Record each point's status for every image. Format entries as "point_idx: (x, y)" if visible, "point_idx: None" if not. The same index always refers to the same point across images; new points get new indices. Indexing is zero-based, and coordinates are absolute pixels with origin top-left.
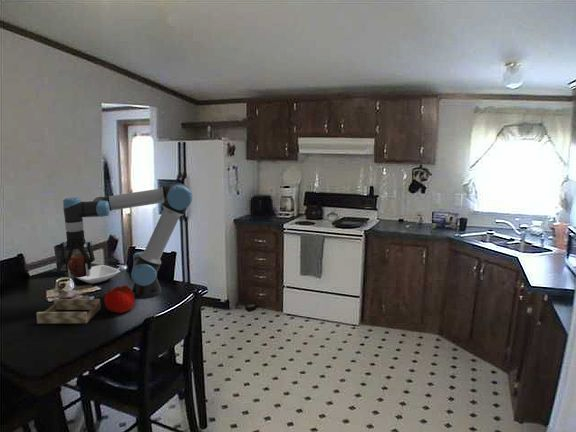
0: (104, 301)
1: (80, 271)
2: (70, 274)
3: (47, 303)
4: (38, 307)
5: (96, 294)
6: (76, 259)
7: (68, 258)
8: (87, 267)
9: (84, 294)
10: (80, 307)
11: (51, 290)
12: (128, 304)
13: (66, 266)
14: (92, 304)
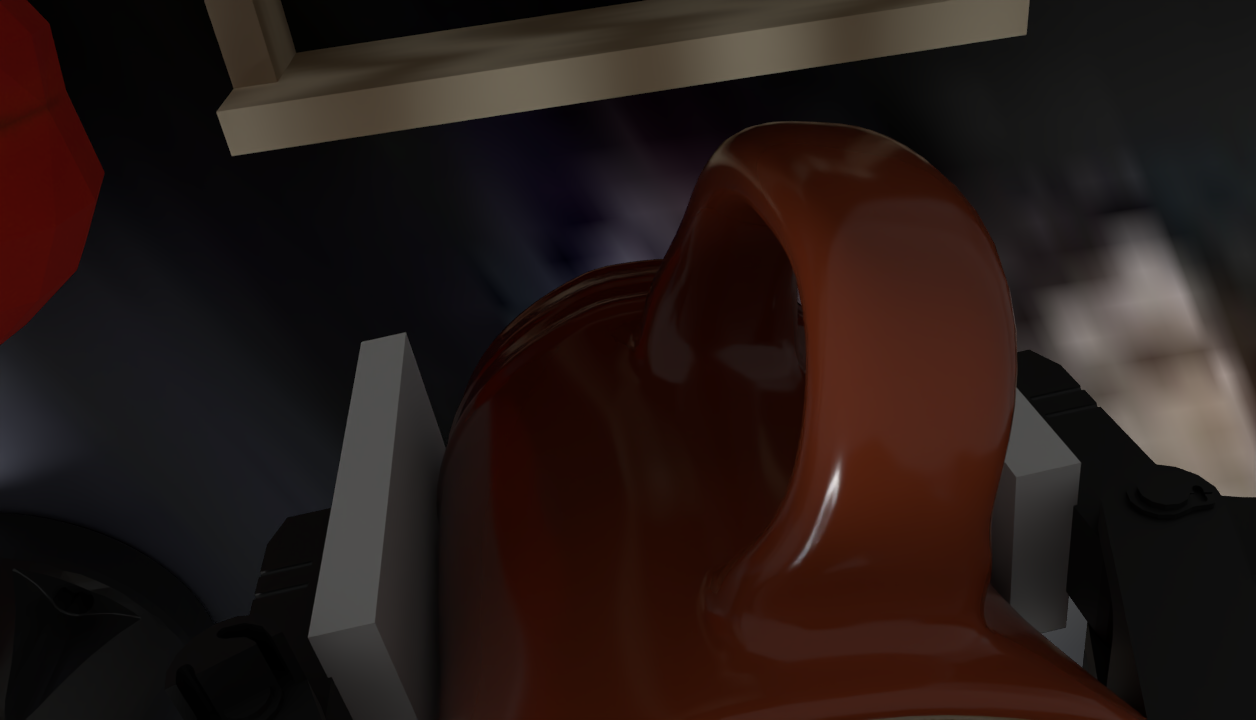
0: (13, 18)
1: (546, 366)
2: None
3: (1149, 165)
4: (1226, 11)
5: None
6: (690, 665)
7: (1178, 689)
8: (337, 539)
9: None
10: (560, 24)
11: None
12: None
13: (1095, 431)
14: (356, 68)
